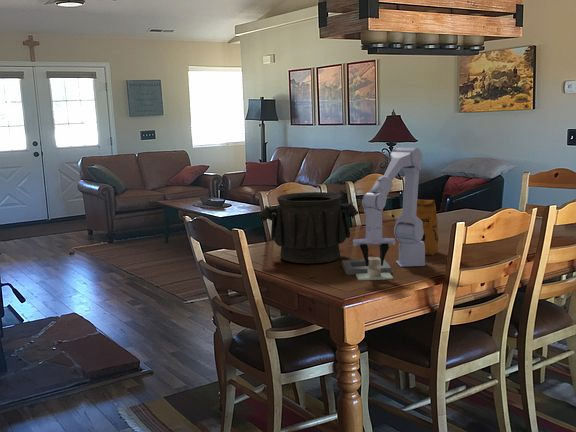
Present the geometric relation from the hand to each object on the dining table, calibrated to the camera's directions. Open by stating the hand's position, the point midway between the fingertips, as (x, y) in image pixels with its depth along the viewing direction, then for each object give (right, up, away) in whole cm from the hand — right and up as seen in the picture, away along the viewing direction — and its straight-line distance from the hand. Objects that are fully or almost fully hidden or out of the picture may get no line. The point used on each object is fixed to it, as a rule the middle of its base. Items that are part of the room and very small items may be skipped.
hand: (374, 265), depth 223 cm
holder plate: (-1, -2, +12) cm, 12 cm away
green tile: (0, -4, +1) cm, 4 cm away
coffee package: (+25, +2, +36) cm, 43 cm away
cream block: (0, -4, +1) cm, 4 cm away
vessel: (-21, 0, +32) cm, 38 cm away
